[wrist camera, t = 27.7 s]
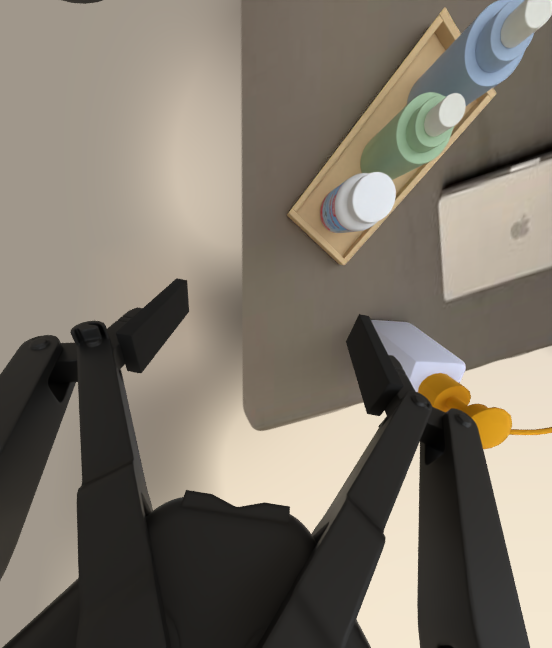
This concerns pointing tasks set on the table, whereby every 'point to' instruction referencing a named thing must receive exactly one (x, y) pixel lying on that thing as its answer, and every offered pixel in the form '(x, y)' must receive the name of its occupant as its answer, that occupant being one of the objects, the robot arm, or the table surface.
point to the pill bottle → (358, 203)
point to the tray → (366, 128)
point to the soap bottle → (443, 379)
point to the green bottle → (413, 135)
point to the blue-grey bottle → (485, 50)
